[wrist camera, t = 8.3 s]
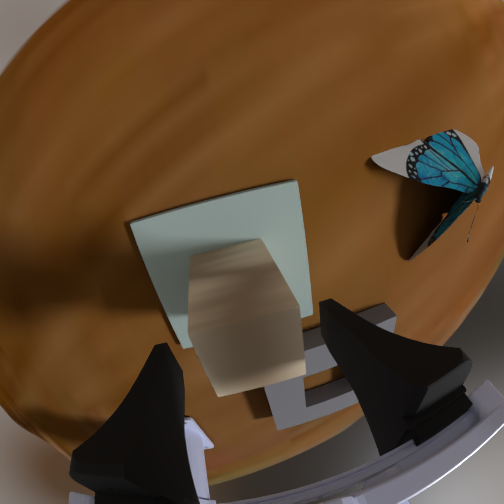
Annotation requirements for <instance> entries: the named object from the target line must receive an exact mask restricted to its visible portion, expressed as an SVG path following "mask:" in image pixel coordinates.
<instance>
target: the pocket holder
mask: <svg viewBox="0 0 504 504" xmlns="http://www.w3.org/2000/svg"><path fill="white" fill-rule="evenodd" d="M357 315H358V316H360V317H362V318H364V319H365V320H367V321H369V322H371V323H373V324H375V325H377V326H379V327H381V328H383V329H385V330H387V331H389V332H392V333H394V329H395V324H396V318H397V315H396V314H395V313H394V312H393V311H392V310H391V309H390V308H389V307H388V306H387V305H386V304H385V303H383V304H380V305H378V306H375V307H373V308H370V309H368V310H365V311H363V312H360V313H357ZM302 333H303V343H304V354H305V365H306V374H305V375H301V376H298V377H295V378H292V379H288V380H285V381H282V382H278V383H275V384H271V385H267V386H264V389H265V392H266V395H267V398H268V402H269V405H270V408H271V411H272V414H273V417H274V421H275V424H276V427H277V430H282V429H285V428H289V427H292V426H295V425H299V424H302V423H305V422H308V421H311V420H314V419H317V418H320V417H323V416H325V415H328V414H331V413H333V412H336V411H339V410H341V409H344V408H346V407H349V406H351V405H353V404H356V403H358V402H359V401H358V399H357V397H356V395H355V393H354V391H353V389H352V387H351V385H350V384H349V382H348V380H347V379H346V377H344V378H341V379H339V380H336V381H333V382H331V383H328V384H325V385H322V386H319V387H317V388H314V389H311V390H308V391H304V382H303V377H306V376H309V375H312V374H315V373H318V372H321V371H324V370H326V369H329V368H332V367H335V366H337V363H336V362H335V360H334V358H333V357H332V355H331V354H330V352H329V350H328V348H327V346H326V344H325V342H324V339H323V337H322V335H321V327H318V328H315V329H311V330H308V331H305V332H302Z"/></svg>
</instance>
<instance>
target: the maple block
mask: <svg viewBox="0 0 504 504" xmlns="http://www.w3.org/2000/svg"><path fill="white" fill-rule="evenodd" d="M188 336H189V338H190V340H191V343H192V345H193V347H194V349H195V351H196V353H197V356H198V358H199V360H200V362H201V364H202V366H203V368H204V370H205V372H206V374H207V376H208V378H209V380H210V382H211V384H212V386H213V388H214V390H215V392H216V394H217V395H218V397H220V396H225V395H230V394H235V393H239V392H243V391H248V390H252V389H256V388H260V387H263V386H267V385H271V384H275V383H278V382H282V381H285V380H288V379H292V378H295V377H298V376H301V375H305V374H306V365H305V354H304V343H303V333H302V323H301V313H300V305H299V303H298V302H297V300H296V298H295V296H294V295H293V293H292V291H291V289H290V288H289V286H288V284H287V282H286V281H285V279H284V277H283V275H282V274H281V272H280V270H279V268H278V267H277V265H276V263H275V261H274V260H273V258H272V256H271V254H270V253H269V251H268V249H267V247H266V246H265V244H264V242H263V240H262V239H257V240H253V241H249V242H245V243H241V244H237V245H233V246H229V247H225V248H221V249H217V250H213V251H209V252H205V253H201V254H197V255H193V256H190V266H189V291H188Z"/></svg>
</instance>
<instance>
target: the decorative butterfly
mask: <svg viewBox="0 0 504 504" xmlns="http://www.w3.org/2000/svg"><path fill="white" fill-rule="evenodd" d="M371 158H372V160H373V161H374V162H375V163H376V164H377V165H379V166H381V167H382V168H384V169H387V170H389V171H392V172H394V173H397V174H400V175H402V176H405V177H407V178H410V179H413V180H415V181H419V182H422V183H425V184H429V185H434V186H439V187H446V188H452V189H456V190H459V191H462V194H461V195H460V197H459V198H458V199H457V201H456V202H455V203H454V205H453V206H452V207H451V209H450V210H449V211H448V213H447V216H446V217H445V218H444V219H443V220H442V221H441V222H440V223H439V224H438V226H437V227H436V228H435V229H434V230H433V232H432V233H431V234H430V235H429V237H428V238H427V239H426V240H425V241H424V243H423V244H422V245H421V246H420V247H419V249H418V250H417V251H416V252H415V253H414V254H413V256H412V257H411V258H410V259H409V261H411V260H412V259H414V258H415V257H416V256H418V255H419V254H420V253H421V252H423V251H424V250H425V249H426V248H427V247H429V246H430V245H431V244H432V243H433V242H434V241H435V240H436V239H437V238H439V237H440V236H441V235H442V234H443V233H444V232H445V231H446V230H447V229H448V228H449V227H450V226H451V224H452V223H453V222H454V221H455V220H456V219H457V218H458V217H459V216H460V215H461V214H462V213H463V212H464V211H465V210H466V209H467V208H468V206H469V205H470V204H471V203H472V202H473V201H474V199H475V201H476V202H477V203H480V202H481V198H482V196H483V195H484V194H485V193H486V191H487V189H488V186H489V184H490V181H491V177H492V173H493V167H494V166H492V167H491V168H490V169H489V171H488V172H487V174H486V175H485V177H483V176H484V170H483V167H482V165H481V163H480V154H479V148H478V146H477V144H476V143H475V142H474V141H473V140H472V139H471V138H469V137H468V136H466V135H465V134H463V133H461V132H459V131H457V130H454V129H452V130H448V131H445V132H442V133H438V134H435V135H432V136H429V137H427V142H426V141H424V140H417V141H414V142H412V143H410V144H408V145H405V146H400V147H397V148H394V149H391V150H388V151H385V152H382V153H379V154H376V155H374V156H371ZM477 209H478V207H477ZM476 212H477V210H476ZM475 214H476V213H475ZM474 217H475V216H474ZM473 220H474V219H473ZM472 223H473V222H472ZM471 226H472V225H471ZM470 230H471V228H470ZM469 234H470V232H469ZM468 241H469V237H468V240H467V242H468Z"/></svg>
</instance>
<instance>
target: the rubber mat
mask: <svg viewBox="0 0 504 504" xmlns="http://www.w3.org/2000/svg"><path fill="white" fill-rule="evenodd" d="M130 226H131V229H132V231H133V234H134V237H135V240H136V242H137V245H138V248H139V250H140V253H141V255H142V258H143V261H144V263H145V266H146V268H147V271H148V273H149V275H150V278H151V280H152V283H153V285H154V287H155V290H156V292H157V294H158V297H159V299H160V301H161V303H162V306H163V308H164V310H165V312H166V314H167V316H168V319H169V321H170V323H171V325H172V327H173V329H174V331H175V333H176V335H177V337H178V339H179V341H180V343H181V345H182V347H183V349H185V348H189V347H193V345H192V343H191V340H190V338H189V336H188V291H189V266H190V256H193V255H197V254H201V253H205V252H209V251H213V250H217V249H221V248H225V247H229V246H233V245H237V244H241V243H245V242H249V241H253V240H257V239H262V240H263V242H264V244H265V246H266V247H267V249H268V251H269V253H270V254H271V256H272V258H273V260H274V261H275V263H276V265H277V267H278V268H279V270H280V272H281V274H282V275H283V277H284V279H285V281H286V282H287V284H288V286H289V288H290V289H291V291H292V293H293V295H294V296H295V298H296V300H297V302H298V303H299V305H300V313H301V318H303V317H307V316H310V315H313V307H312V296H311V285H310V275H309V266H308V257H307V248H306V240H305V232H304V224H303V216H302V209H301V202H300V195H299V188H298V182H297V180H295V179H294V180H289V181H285V182H280V183H275V184H271V185H266V186H262V187H257V188H253V189H249V190H245V191H240V192H236V193H232V194H228V195H224V196H220V197H216V198H212V199H208V200H205V201H201V202H197V203H193V204H190V205H186V206H182V207H179V208H175V209H172V210H168V211H165V212H161V213H158V214H155V215H151V216H148V217H145V218H141V219H138V220H135V221H132V222H131V223H130Z"/></svg>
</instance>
